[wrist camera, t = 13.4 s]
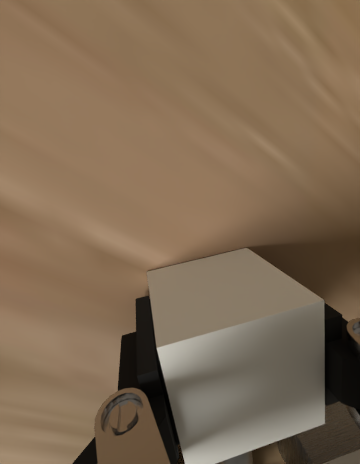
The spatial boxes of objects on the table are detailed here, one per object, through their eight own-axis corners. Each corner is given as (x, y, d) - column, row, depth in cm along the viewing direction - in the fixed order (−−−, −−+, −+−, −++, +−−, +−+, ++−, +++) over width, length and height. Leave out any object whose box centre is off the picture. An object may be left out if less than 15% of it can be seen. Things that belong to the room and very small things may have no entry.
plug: (246, 247, 11) (323, 299, 6) (271, 488, 15) (325, 614, 11) (146, 271, 10) (156, 348, 6) (203, 514, 14) (232, 659, 10)
